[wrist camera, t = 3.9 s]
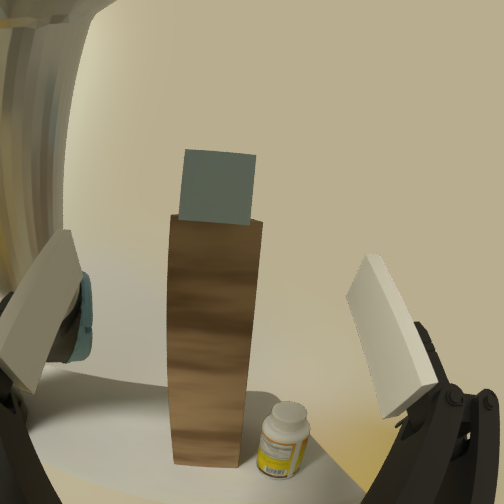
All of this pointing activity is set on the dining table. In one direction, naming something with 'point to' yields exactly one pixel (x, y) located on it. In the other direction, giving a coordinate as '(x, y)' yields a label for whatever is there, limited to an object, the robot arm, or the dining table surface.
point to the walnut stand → (209, 336)
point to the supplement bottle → (283, 440)
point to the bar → (217, 187)
